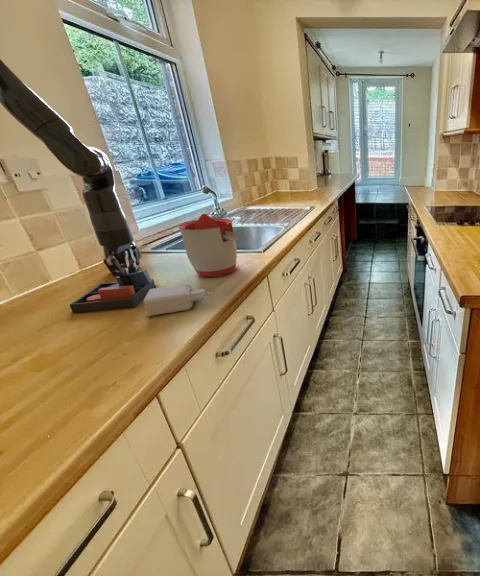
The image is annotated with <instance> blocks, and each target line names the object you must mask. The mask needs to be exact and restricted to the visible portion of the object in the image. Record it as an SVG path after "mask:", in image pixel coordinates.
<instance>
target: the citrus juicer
mask: <svg viewBox="0 0 480 576" xmlns="http://www.w3.org/2000/svg"><path fill="white" fill-rule="evenodd" d="M177 227H178V229H179V230H180V234H181V239H182V242H183V246H184V250H185V254H186V256H187V258H188V260H189V262H190V264H191V266H192V267H193V270H194V271H195V272H196V274H198V276H200V277H205V278H211V277H222V276H224V275H228V274H230V273H232V272H234V271H235V270H236V268H237V267H236V266H237V258H238V250H237V249H238V248H237V243H236V240H238V239H239V237H238V235H237V233H235V232H234V228H233V220H232V219H229V218H220V217H219V218H217V217H216V218H215V217H214V218H212V217H211V216H209V215H208V214H206V213H202V214H201V215H199V217H198V219H195V220H190V221H185V222H183V223H180V224H179V225H178V226H177Z"/></svg>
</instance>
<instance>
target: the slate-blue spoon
mask: <svg viewBox="0 0 480 576" xmlns="http://www.w3.org/2000/svg"><path fill="white" fill-rule="evenodd" d="M129 275H130V277H131V280H132V283H133V287H134V288H135V287H139V286H142V285H146V284H150V283H151V282H152V280H151V279H152V278H151V276H150V275H149V273H148V271H147V269H141V270H137V272H133V273H129ZM114 280H115V282H118V283H117V284H114V285H111V286H109V287H117V286H123V284H122V281H121V279H120V277H119V276H116V277H115V279H114Z"/></svg>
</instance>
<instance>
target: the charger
mask: <svg viewBox="0 0 480 576" xmlns="http://www.w3.org/2000/svg"><path fill="white" fill-rule="evenodd" d="M213 292H214V290H206V289H205V288H200V289H193V286H192V285H191V284H189V283H184V284H176V285H168V286H162V287H154V288H153V289H150V290H149V292H148V293H147V295H146V296H145V297H144V298H143V307H144V309H145V311H146V315H147V316H148V317H151V316H158V315H164V314H165V315H166V314H170V313H171V314H172V313H176V312H181V311H182V312H183V311H188V310H189V309H191V308H192V307H193V304H194V302H196V301H197V302H198V301H202V300H206V296H209V295H214V293H213Z"/></svg>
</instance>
